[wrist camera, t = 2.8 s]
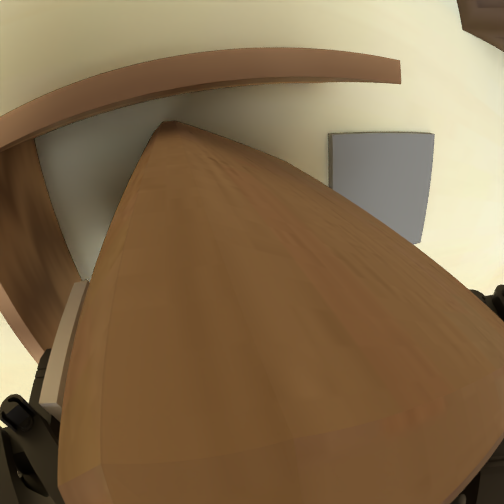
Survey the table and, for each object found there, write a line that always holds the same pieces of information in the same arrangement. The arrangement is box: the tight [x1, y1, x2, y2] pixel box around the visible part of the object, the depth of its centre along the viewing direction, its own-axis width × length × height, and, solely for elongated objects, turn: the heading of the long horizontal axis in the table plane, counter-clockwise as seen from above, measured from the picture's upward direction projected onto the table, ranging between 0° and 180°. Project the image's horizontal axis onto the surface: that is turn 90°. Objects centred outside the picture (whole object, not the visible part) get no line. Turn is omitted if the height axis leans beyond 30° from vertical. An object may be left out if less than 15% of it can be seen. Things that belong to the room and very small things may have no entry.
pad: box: [328, 132, 435, 245], centre depth 24 cm, size 12×12×1 cm
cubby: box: [0, 48, 401, 364], centre depth 16 cm, size 18×21×9 cm
